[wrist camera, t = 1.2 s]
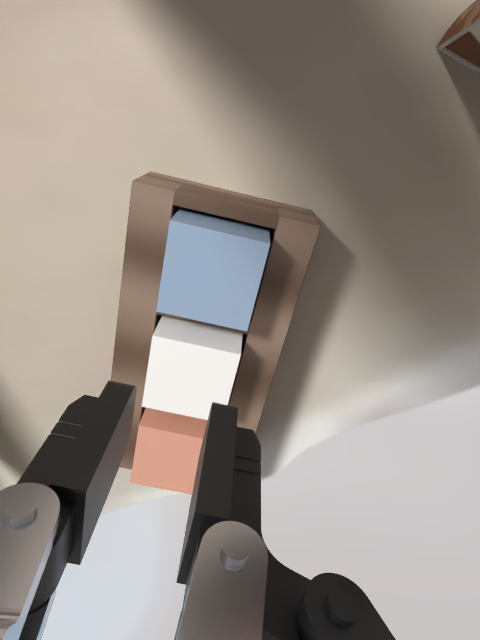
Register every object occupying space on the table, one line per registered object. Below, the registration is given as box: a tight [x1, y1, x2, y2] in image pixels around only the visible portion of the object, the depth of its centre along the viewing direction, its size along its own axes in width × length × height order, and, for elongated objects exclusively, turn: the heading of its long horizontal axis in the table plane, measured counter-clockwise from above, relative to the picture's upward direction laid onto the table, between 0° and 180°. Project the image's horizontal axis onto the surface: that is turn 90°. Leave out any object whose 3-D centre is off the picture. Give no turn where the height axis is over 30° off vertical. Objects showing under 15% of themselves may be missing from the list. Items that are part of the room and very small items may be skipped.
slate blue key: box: [156, 208, 270, 331], centre depth 23 cm, size 5×5×3 cm
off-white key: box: [142, 316, 243, 420], centre depth 26 cm, size 5×5×3 cm
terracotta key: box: [130, 408, 208, 494], centre depth 28 cm, size 5×5×3 cm
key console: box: [111, 172, 320, 469], centre depth 28 cm, size 20×10×4 cm, turn 167°
